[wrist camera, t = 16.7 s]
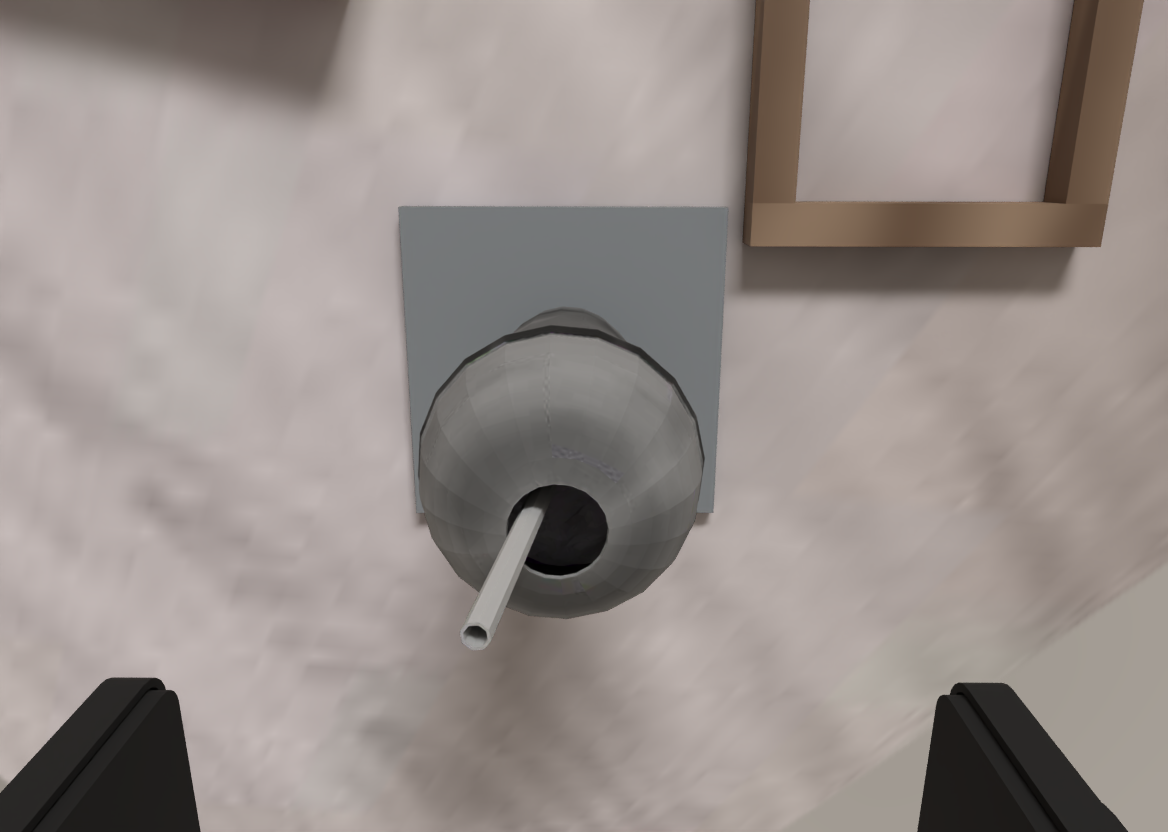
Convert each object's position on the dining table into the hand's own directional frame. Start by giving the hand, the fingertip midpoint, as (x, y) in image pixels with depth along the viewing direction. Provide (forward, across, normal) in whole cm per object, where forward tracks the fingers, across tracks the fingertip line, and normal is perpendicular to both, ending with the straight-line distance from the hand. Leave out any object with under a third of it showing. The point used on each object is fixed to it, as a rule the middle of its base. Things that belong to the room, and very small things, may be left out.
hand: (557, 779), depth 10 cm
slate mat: (+24, +1, +1) cm, 24 cm away
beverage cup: (+23, 0, 0) cm, 23 cm away
